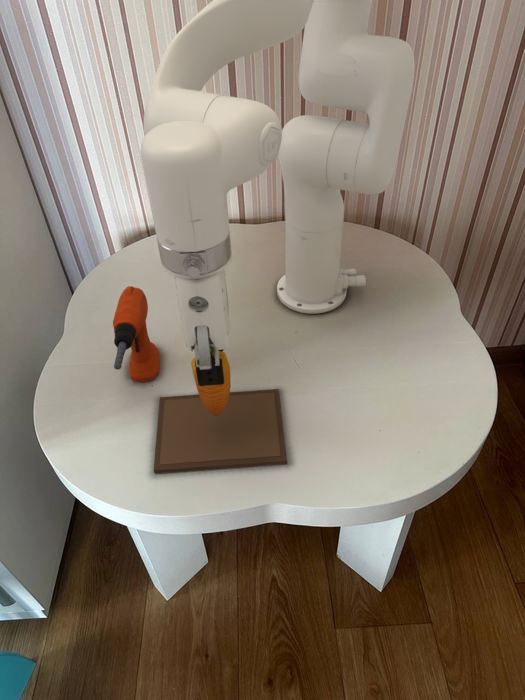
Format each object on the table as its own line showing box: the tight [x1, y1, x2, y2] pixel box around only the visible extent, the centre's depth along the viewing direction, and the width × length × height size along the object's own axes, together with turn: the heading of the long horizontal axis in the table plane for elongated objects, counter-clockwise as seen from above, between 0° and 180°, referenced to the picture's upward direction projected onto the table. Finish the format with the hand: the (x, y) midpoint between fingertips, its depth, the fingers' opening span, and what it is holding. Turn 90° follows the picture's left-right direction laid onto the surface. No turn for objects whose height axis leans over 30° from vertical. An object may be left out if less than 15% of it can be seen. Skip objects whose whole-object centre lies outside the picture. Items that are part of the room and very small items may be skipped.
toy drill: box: [112, 285, 161, 383], centre depth 82 cm, size 5×19×15 cm, turn 3°
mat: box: [153, 388, 288, 474], centre depth 81 cm, size 18×13×1 cm
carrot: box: [190, 348, 232, 416], centre depth 73 cm, size 5×5×15 cm
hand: (211, 365), depth 72 cm, fingers closed on carrot, 4 cm apart
